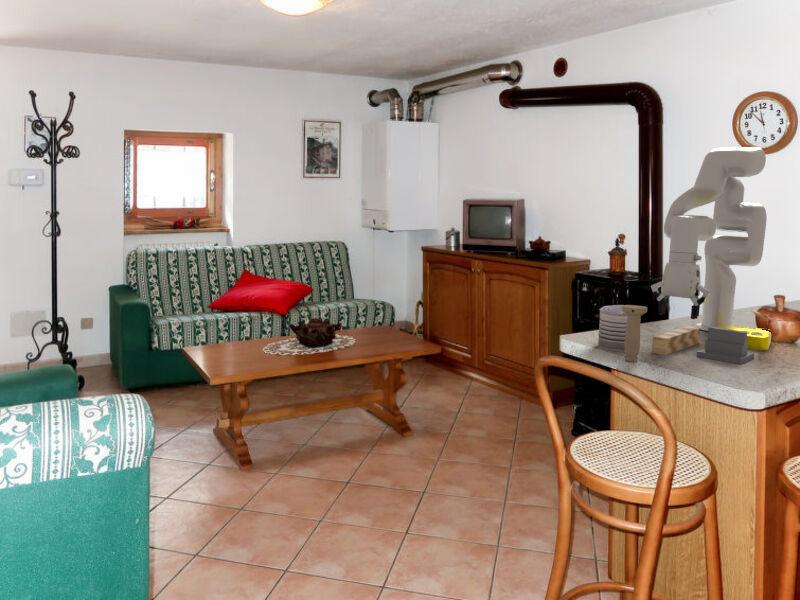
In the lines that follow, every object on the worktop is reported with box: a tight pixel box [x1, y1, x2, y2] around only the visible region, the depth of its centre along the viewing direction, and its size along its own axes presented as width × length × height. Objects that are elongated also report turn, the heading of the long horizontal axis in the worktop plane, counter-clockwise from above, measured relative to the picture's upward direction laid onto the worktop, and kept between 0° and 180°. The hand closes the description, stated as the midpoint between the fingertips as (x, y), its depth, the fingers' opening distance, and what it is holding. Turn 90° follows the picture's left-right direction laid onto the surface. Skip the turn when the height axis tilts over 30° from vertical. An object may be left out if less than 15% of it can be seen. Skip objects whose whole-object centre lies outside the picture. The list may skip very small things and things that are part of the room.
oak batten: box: [651, 325, 701, 356], centre depth 212 cm, size 24×4×5 cm, turn 136°
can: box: [597, 304, 628, 353], centre depth 211 cm, size 11×11×12 cm
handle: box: [622, 304, 648, 363], centre depth 194 cm, size 5×6×15 cm
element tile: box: [718, 325, 772, 351], centre depth 220 cm, size 15×15×5 cm
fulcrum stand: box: [696, 327, 755, 365], centre depth 200 cm, size 10×12×8 cm
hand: (677, 316), depth 210 cm, fingers open, 9 cm apart
